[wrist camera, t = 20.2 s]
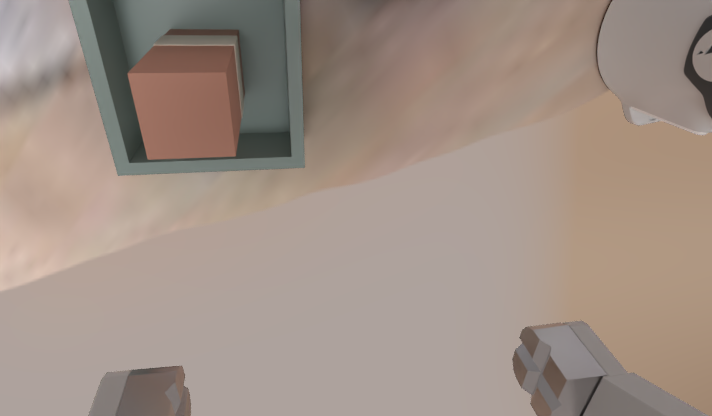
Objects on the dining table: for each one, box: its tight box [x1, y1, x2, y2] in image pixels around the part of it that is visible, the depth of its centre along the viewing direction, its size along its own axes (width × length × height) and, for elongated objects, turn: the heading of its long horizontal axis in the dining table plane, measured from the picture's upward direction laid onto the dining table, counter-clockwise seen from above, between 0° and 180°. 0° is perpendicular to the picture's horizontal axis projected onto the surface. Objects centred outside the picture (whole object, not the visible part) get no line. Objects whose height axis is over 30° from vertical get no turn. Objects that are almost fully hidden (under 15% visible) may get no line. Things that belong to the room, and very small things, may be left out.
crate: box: [69, 0, 305, 176], centre depth 33 cm, size 14×14×6 cm
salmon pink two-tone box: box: [127, 29, 245, 160], centre depth 30 cm, size 5×5×12 cm
